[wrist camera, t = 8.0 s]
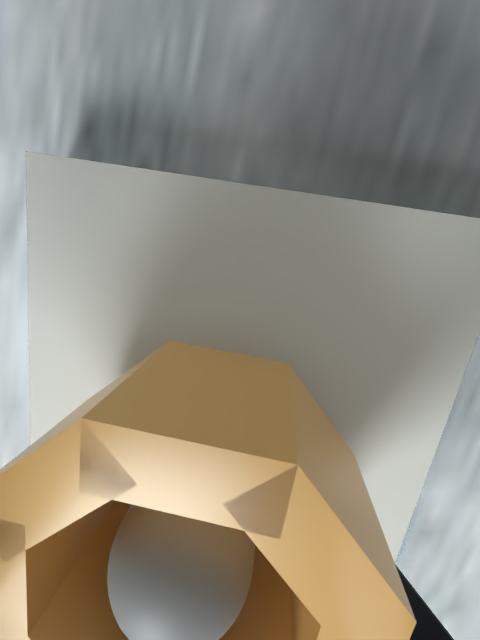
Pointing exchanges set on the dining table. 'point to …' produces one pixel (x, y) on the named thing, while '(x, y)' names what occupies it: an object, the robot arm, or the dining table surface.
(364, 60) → the dining table surface
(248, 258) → the shaft board
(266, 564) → the collar
